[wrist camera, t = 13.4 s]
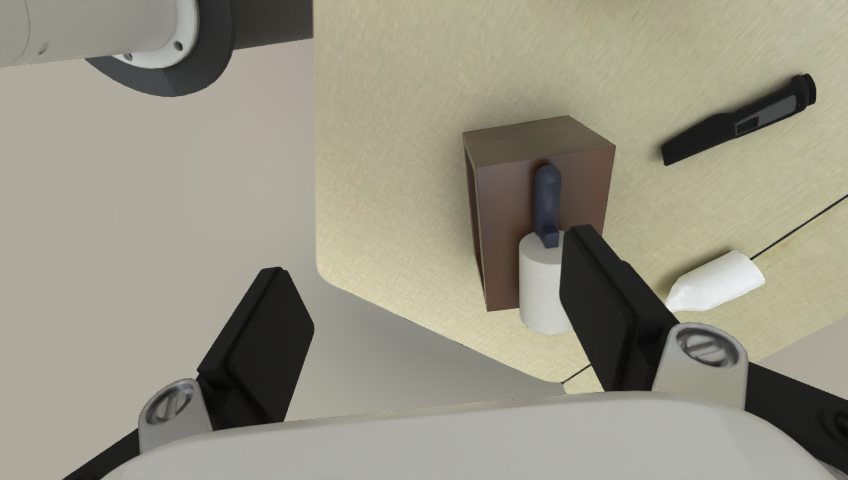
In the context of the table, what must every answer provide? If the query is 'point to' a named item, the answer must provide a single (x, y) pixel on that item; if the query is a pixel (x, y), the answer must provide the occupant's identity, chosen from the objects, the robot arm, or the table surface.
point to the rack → (529, 192)
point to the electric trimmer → (742, 120)
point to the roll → (715, 283)
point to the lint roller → (543, 259)
